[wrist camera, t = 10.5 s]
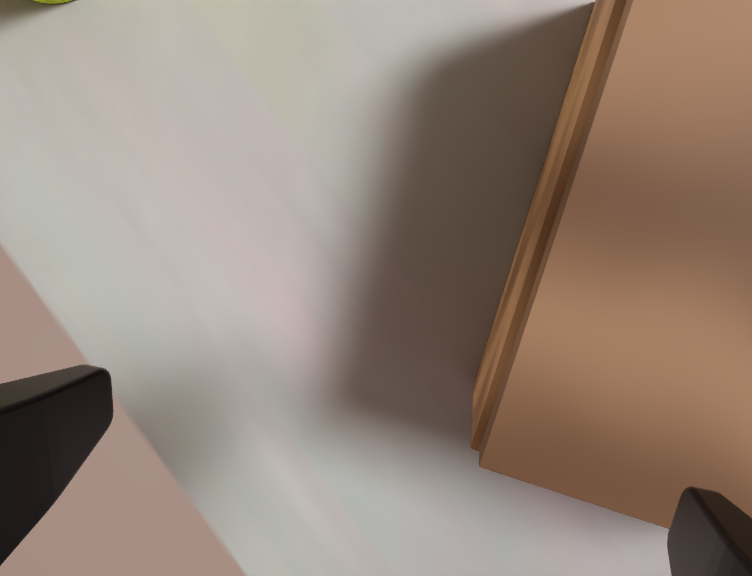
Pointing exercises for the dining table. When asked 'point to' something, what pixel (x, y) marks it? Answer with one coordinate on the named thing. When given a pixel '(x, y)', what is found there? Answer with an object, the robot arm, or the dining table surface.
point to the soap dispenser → (52, 1)
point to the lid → (645, 281)
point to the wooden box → (544, 209)
